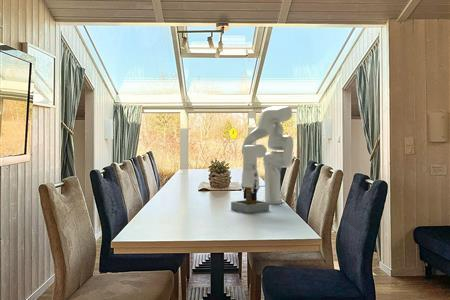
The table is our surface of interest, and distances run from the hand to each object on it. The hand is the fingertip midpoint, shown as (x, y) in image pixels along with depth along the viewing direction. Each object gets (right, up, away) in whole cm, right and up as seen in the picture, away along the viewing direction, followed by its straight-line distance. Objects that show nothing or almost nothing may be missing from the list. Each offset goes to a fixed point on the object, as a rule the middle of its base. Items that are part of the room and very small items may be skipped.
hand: (250, 199), depth 226 cm
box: (0, -6, 0) cm, 6 cm away
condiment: (0, -4, 0) cm, 4 cm away
